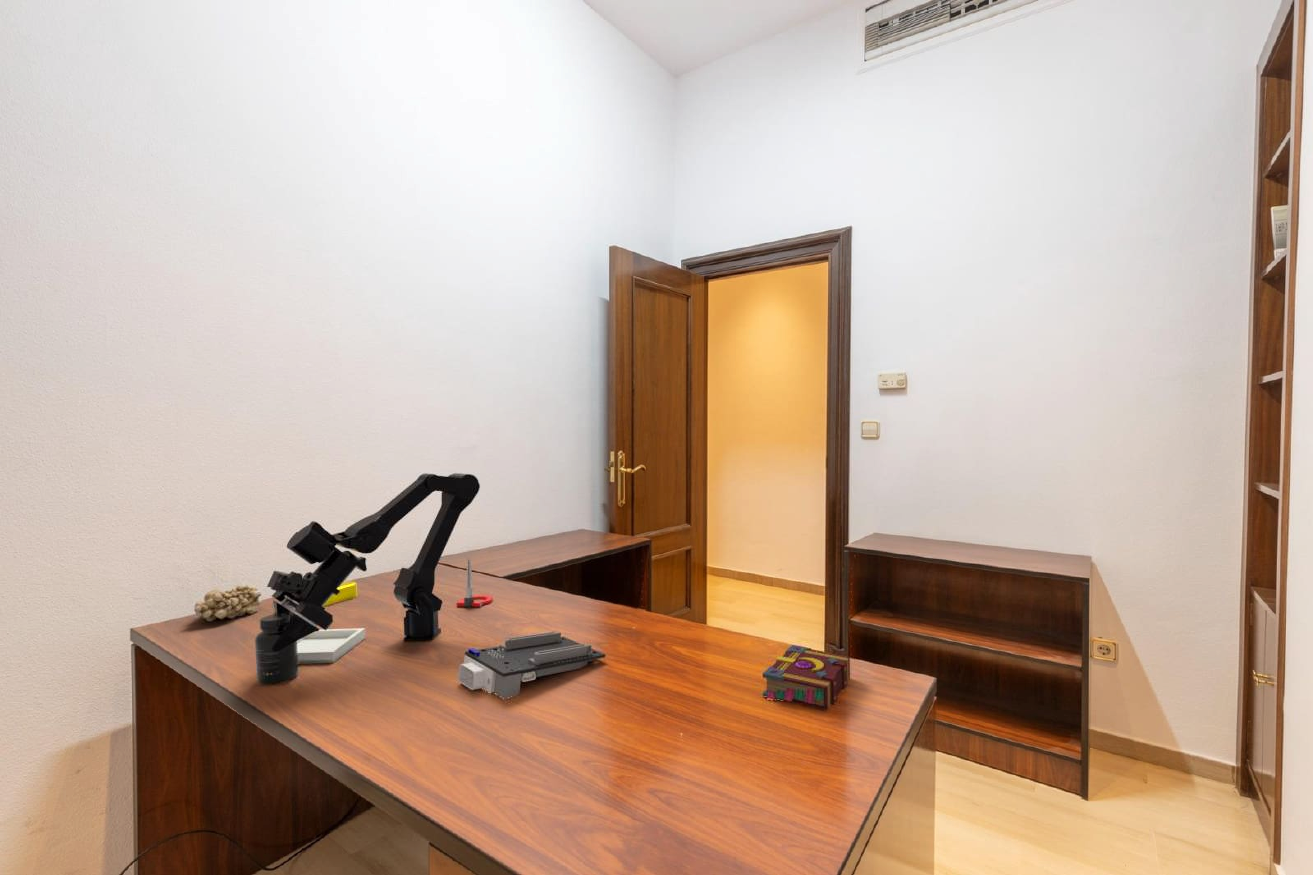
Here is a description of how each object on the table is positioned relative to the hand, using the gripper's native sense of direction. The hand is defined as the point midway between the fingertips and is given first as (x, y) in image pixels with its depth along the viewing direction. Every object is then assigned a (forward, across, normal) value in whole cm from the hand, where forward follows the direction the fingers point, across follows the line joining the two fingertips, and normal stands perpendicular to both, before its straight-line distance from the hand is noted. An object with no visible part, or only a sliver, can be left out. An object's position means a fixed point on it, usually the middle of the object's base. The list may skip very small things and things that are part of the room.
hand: (268, 646), depth 114 cm
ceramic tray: (-4, -10, +13) cm, 16 cm away
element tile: (-13, -52, +23) cm, 58 cm away
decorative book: (-39, +80, +49) cm, 101 cm away
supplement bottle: (+4, 0, +6) cm, 7 cm away
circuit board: (-20, +35, +30) cm, 50 cm away
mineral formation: (+3, -54, +7) cm, 54 cm away
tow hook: (-32, -14, +42) cm, 54 cm away
